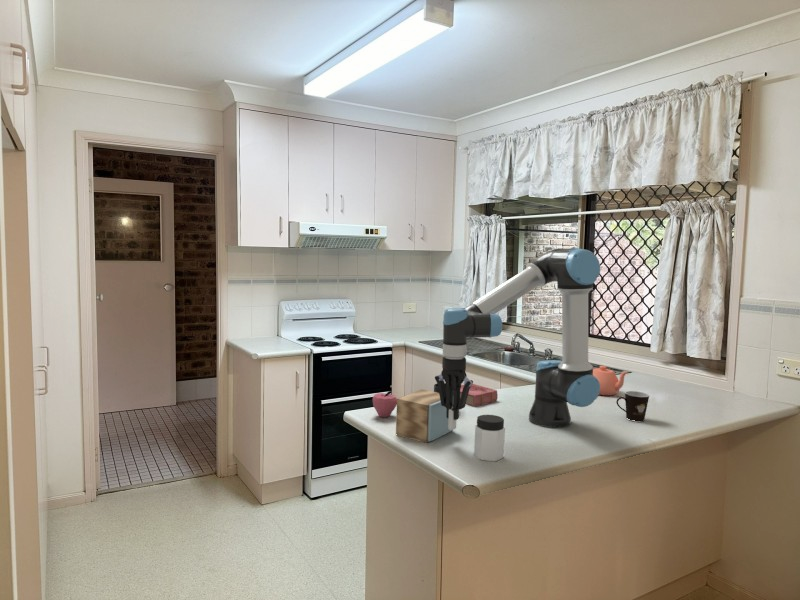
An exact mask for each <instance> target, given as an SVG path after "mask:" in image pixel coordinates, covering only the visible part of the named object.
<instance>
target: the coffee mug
mask: <svg viewBox="0 0 800 600" xmlns="http://www.w3.org/2000/svg"><path fill="white" fill-rule="evenodd" d="M649 398H650V394H649V393H646V392H642V391H635V390H628V391H625V392H624V396H620V397H618V398H617V399H616V405H617V407H618V408H619V409H621V410H622V411H623V412H625V416H626V417H625V419H626V418H628V419H630V420H635V421H643V420H644V421H645V418H646V413H647V409H648V404H649ZM621 399H622V400H624V401H625V403H624V404H625V408H623V407H622V406H621V405H620V404H619V401H620V400H621ZM630 420H629V421H630ZM644 421H643V422H644Z"/></svg>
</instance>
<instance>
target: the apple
mask: <svg viewBox="0 0 800 600" xmlns="http://www.w3.org/2000/svg"><path fill="white" fill-rule="evenodd" d="M397 399H398V398H397V397H396V395H394V394H392V391H391V390H389V391H387V392H386V393H384V392H383V393H382V392H379V393H375V394H374V395H373V397H372V405H373V408H374V410H375V412H376V413H377V415H378V416H379V417H380V418H389V417H391V416H392V413H393V412H394V410H395V408H397Z"/></svg>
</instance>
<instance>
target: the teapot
mask: <svg viewBox="0 0 800 600" xmlns="http://www.w3.org/2000/svg"><path fill="white" fill-rule="evenodd" d="M628 373H629V371H623V372H621V373H620V375H619V379H618V376H617V375H616V372H615V371H614V370H612V369H609V368H608V367H607V366H606V365H599V367H596V368H595V367H593V376H594V377H596V378H597V380H598V381H599V383H600V392H599V395H600V396H605V395H606V396H613V395H617V393H618V392H619V391H620V389H621V388H623V386H624V382H625V376H626V375H627V374H628ZM599 395H598V396H599Z"/></svg>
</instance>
